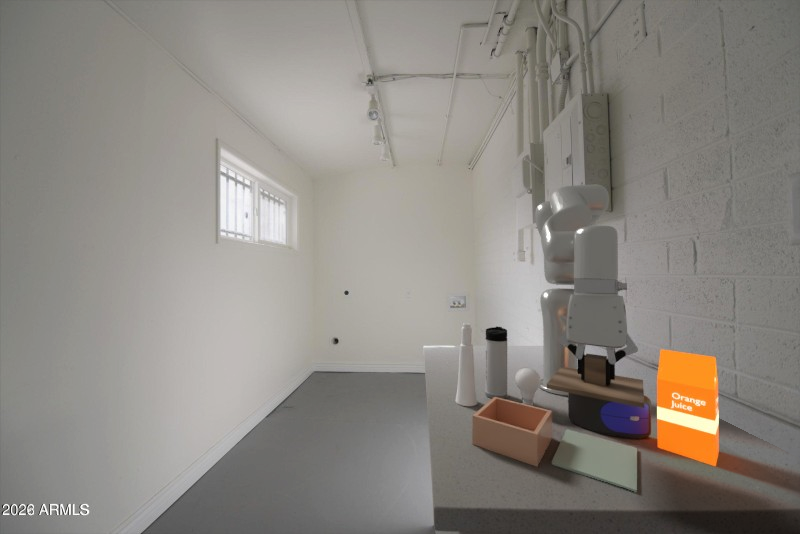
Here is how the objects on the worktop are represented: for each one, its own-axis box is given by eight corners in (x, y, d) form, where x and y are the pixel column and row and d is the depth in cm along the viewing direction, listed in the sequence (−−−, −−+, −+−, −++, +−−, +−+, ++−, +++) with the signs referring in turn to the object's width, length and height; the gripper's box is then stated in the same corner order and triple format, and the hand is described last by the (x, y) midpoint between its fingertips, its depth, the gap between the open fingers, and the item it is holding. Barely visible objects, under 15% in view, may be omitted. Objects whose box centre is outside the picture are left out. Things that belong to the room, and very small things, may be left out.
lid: (561, 372, 73) (561, 344, 74) (643, 386, 64) (642, 355, 65) (546, 391, 61) (546, 358, 62) (644, 411, 52) (643, 372, 53)
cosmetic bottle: (453, 404, 87) (453, 324, 88) (457, 396, 93) (457, 321, 94) (475, 408, 85) (476, 326, 86) (478, 399, 91) (478, 322, 91)
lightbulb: (543, 415, 81) (543, 372, 81) (517, 412, 83) (517, 370, 83) (537, 405, 87) (537, 365, 88) (513, 403, 89) (513, 363, 89)
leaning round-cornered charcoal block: (568, 427, 75) (568, 387, 75) (568, 420, 79) (568, 382, 79) (654, 446, 67) (654, 401, 67) (650, 436, 71) (649, 394, 71)
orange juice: (664, 435, 72) (663, 346, 72) (719, 451, 65) (718, 354, 66) (657, 447, 67) (656, 351, 67) (716, 467, 60) (714, 360, 60)
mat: (566, 431, 73) (566, 429, 73) (636, 450, 65) (636, 447, 65) (551, 464, 60) (551, 461, 60) (636, 493, 53) (636, 490, 53)
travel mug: (509, 394, 95) (509, 327, 96) (504, 401, 90) (504, 330, 90) (488, 390, 99) (488, 325, 99) (482, 397, 93) (482, 328, 93)
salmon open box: (494, 421, 78) (494, 396, 78) (552, 438, 70) (552, 410, 70) (472, 444, 67) (472, 415, 67) (537, 466, 60) (537, 434, 60)
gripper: (647, 289, 61) (648, 384, 61) (554, 286, 71) (554, 368, 71) (648, 290, 55) (649, 396, 55) (546, 287, 65) (546, 377, 65)
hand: (595, 379), depth 63 cm, fingers closed on lid, 3 cm apart
